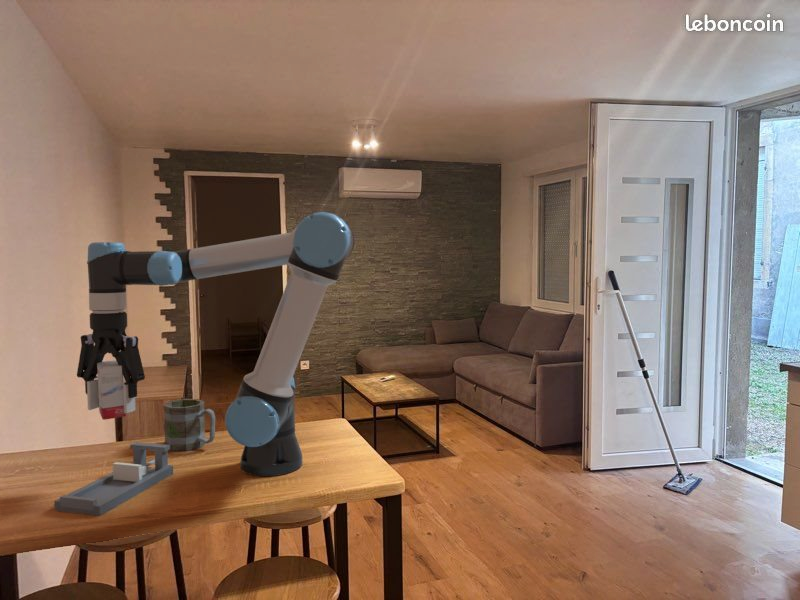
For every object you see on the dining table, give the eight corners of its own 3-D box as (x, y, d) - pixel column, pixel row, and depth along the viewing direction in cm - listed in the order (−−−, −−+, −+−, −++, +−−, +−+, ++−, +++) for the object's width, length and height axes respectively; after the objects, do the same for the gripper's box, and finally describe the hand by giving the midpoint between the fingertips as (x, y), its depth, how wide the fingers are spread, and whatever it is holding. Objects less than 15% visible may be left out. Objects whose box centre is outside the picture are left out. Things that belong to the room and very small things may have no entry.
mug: (155, 449, 159) (154, 405, 158) (184, 438, 169) (183, 397, 168) (200, 456, 153) (199, 411, 152) (228, 444, 163) (227, 402, 162)
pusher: (172, 464, 144) (171, 449, 144) (139, 482, 132) (138, 466, 132) (148, 461, 145) (147, 447, 145) (113, 479, 134) (113, 463, 134)
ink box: (126, 417, 130) (124, 365, 129) (100, 421, 127) (98, 367, 127) (122, 409, 137) (120, 359, 137) (97, 411, 135) (96, 361, 134)
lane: (173, 473, 141) (172, 445, 140) (99, 516, 118) (98, 482, 117) (134, 469, 144) (133, 441, 143) (54, 510, 120) (53, 477, 120)
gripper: (160, 311, 131) (163, 409, 133) (82, 308, 137) (86, 402, 139) (136, 314, 124) (139, 418, 126) (55, 311, 130) (59, 410, 132)
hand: (111, 410), depth 132 cm, fingers closed on ink box, 9 cm apart
